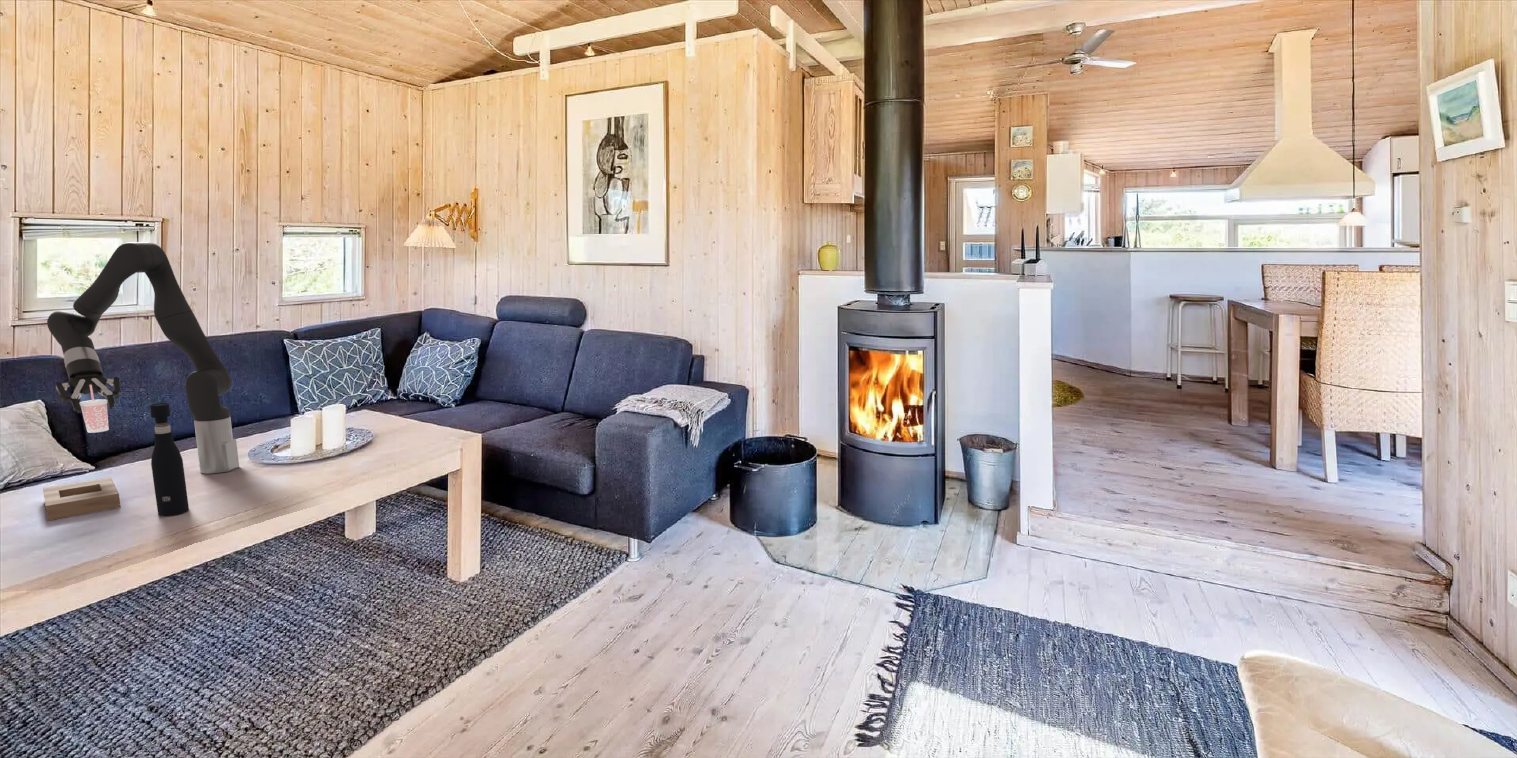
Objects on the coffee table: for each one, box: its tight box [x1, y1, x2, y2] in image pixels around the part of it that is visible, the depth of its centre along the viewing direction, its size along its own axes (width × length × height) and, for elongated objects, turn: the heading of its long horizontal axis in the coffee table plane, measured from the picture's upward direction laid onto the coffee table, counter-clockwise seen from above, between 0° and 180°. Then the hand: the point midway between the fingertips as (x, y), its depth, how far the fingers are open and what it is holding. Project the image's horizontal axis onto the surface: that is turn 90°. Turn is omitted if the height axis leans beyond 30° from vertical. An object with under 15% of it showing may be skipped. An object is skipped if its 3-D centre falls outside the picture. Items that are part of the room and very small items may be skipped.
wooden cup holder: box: [42, 476, 122, 521], centre depth 189 cm, size 20×14×4 cm
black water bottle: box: [149, 402, 190, 518], centre depth 183 cm, size 6×6×30 cm
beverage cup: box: [79, 385, 110, 434], centre depth 202 cm, size 6×6×14 cm
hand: (95, 409), depth 201 cm, fingers closed on beverage cup, 6 cm apart
